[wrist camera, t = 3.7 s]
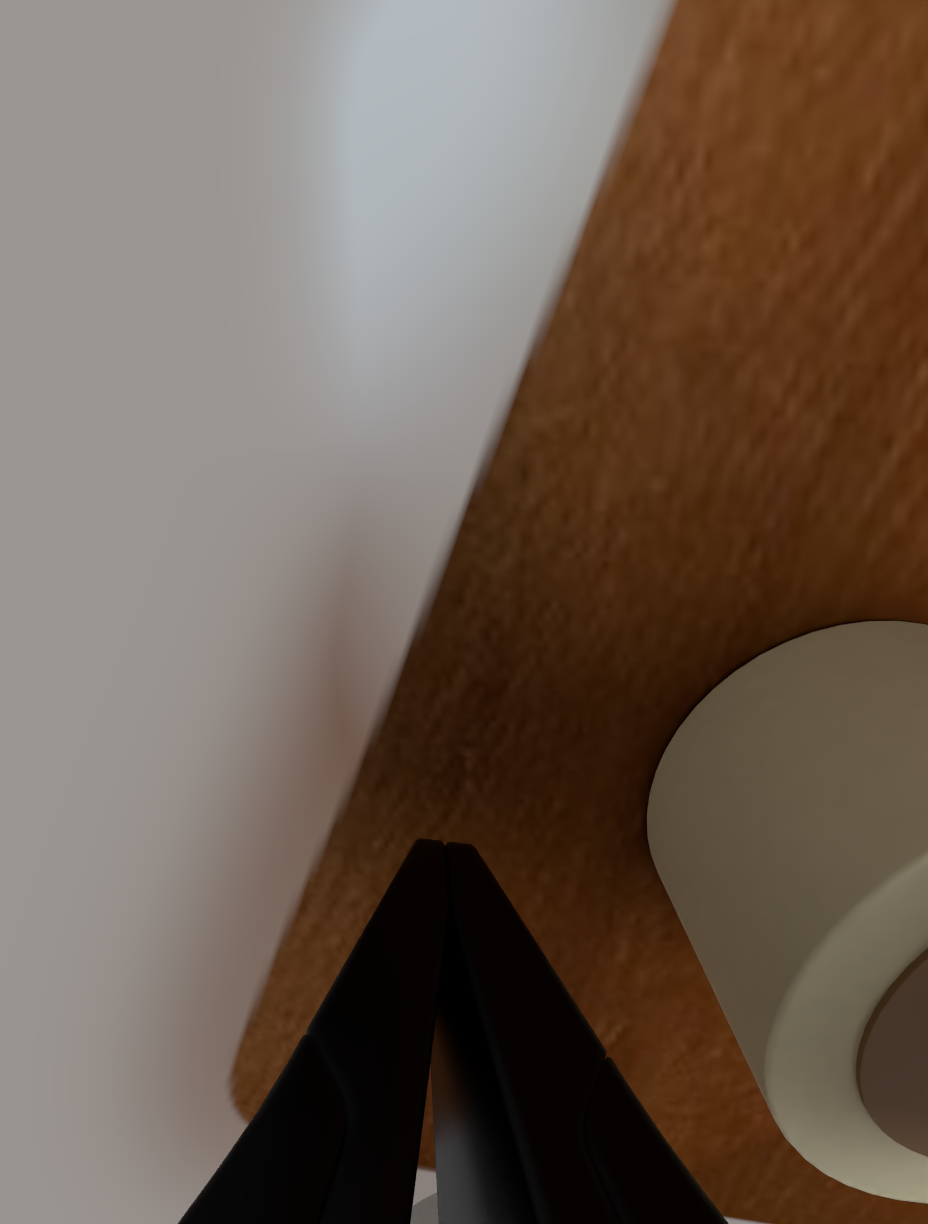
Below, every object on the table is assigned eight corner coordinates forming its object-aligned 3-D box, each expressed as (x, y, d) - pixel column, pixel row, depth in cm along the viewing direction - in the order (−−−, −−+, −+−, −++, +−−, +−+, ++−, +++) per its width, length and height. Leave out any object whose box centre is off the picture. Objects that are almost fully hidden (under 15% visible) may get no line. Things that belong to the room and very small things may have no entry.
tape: (887, 969, 14) (1105, 1243, 9) (585, 896, 13) (668, 1171, 8) (1107, 687, 12) (1547, 873, 7) (760, 563, 10) (1017, 691, 6)
